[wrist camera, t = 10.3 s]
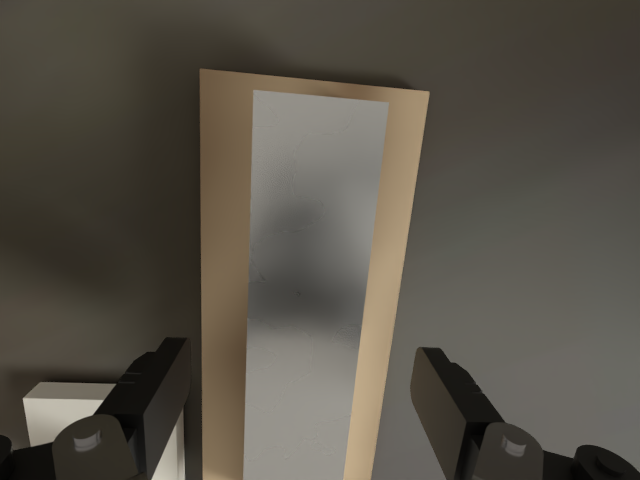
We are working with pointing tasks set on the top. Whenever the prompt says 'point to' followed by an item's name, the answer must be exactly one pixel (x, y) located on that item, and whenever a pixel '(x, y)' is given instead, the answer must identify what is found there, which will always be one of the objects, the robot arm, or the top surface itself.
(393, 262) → the mat
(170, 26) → the top surface
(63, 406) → the rail stand
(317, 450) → the rail
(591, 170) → the top surface
